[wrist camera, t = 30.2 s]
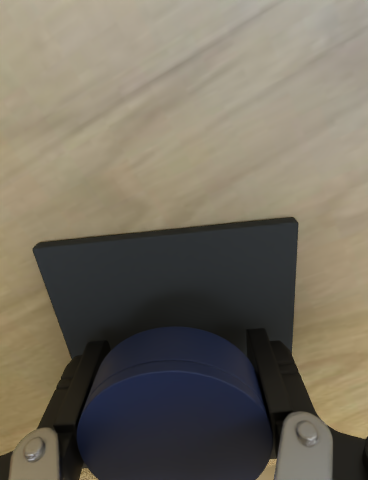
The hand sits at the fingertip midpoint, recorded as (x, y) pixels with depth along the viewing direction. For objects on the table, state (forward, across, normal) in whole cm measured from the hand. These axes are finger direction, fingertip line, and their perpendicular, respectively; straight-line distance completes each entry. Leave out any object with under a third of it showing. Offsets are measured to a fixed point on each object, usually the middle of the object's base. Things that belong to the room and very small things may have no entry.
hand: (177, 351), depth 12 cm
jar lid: (-3, 0, 0) cm, 3 cm away
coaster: (+1, 0, 0) cm, 1 cm away
